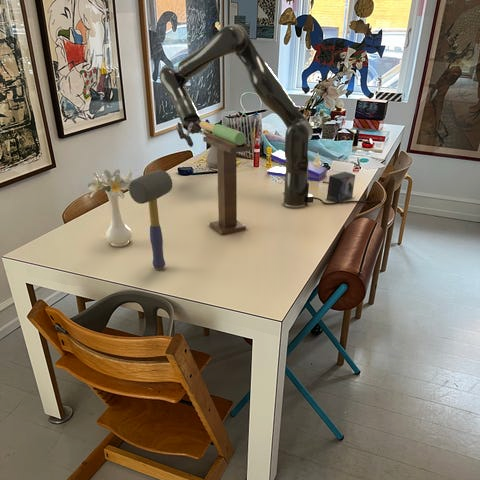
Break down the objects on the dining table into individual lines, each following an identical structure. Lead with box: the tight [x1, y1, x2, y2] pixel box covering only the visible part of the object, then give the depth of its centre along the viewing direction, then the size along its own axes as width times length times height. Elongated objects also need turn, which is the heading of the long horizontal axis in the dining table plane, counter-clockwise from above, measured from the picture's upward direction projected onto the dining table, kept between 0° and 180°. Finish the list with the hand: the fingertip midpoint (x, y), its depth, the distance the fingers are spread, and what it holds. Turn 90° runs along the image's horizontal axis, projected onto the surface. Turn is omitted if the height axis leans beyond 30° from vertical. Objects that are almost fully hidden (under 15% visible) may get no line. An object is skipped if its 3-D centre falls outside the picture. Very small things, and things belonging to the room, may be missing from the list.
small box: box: [326, 171, 356, 203], centre depth 206 cm, size 11×6×10 cm, turn 131°
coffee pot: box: [205, 144, 217, 169], centre depth 248 cm, size 21×12×15 cm, turn 68°
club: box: [200, 120, 246, 145], centre depth 165 cm, size 28×4×4 cm, turn 30°
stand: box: [202, 133, 252, 236], centre depth 172 cm, size 20×10×32 cm, turn 30°
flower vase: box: [87, 169, 136, 248], centre depth 162 cm, size 13×18×25 cm
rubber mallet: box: [128, 169, 173, 271], centre depth 144 cm, size 12×8×30 cm, turn 150°
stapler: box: [266, 149, 328, 182], centre depth 237 cm, size 12×28×10 cm, turn 63°
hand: (201, 144), depth 190 cm, fingers open, 8 cm apart
